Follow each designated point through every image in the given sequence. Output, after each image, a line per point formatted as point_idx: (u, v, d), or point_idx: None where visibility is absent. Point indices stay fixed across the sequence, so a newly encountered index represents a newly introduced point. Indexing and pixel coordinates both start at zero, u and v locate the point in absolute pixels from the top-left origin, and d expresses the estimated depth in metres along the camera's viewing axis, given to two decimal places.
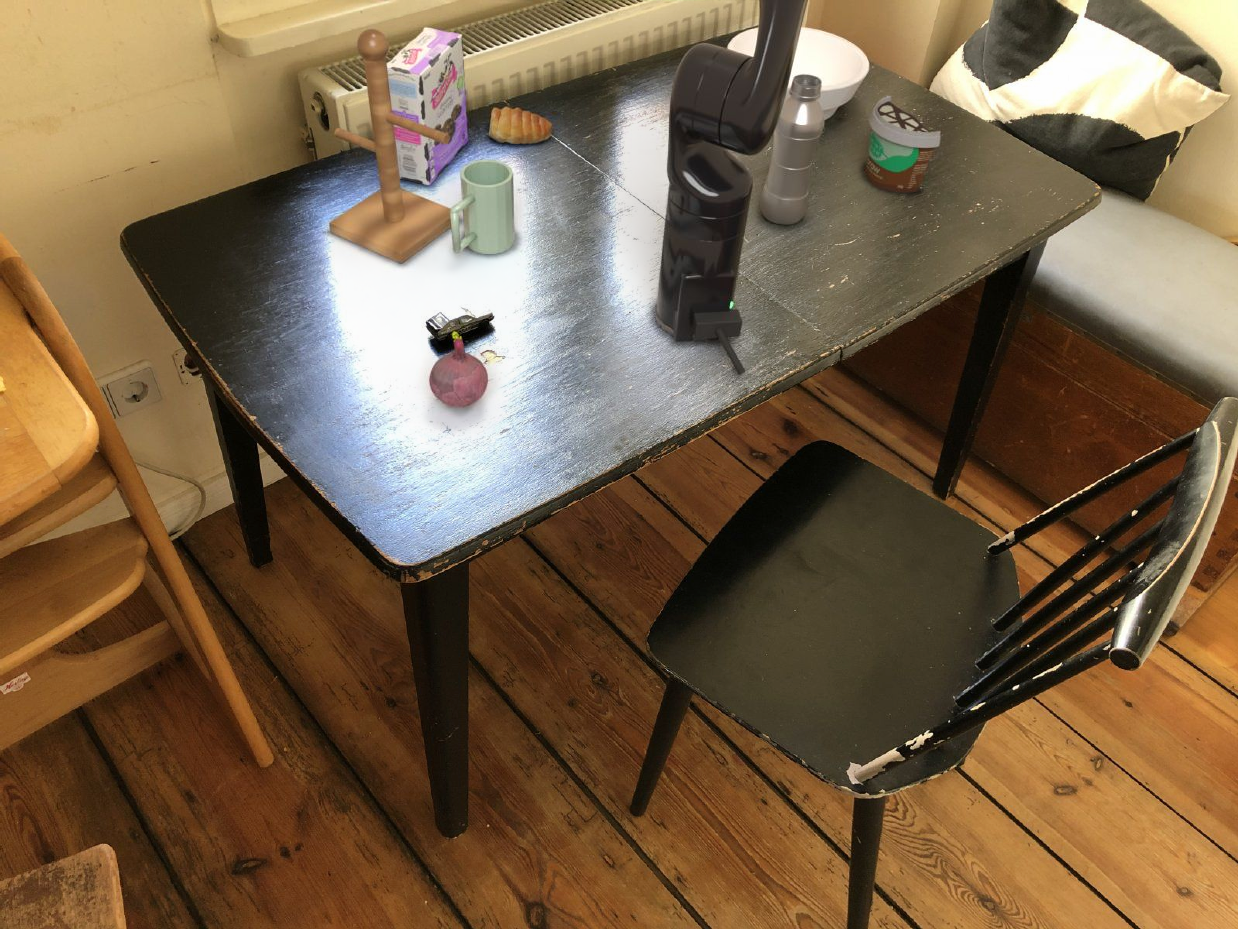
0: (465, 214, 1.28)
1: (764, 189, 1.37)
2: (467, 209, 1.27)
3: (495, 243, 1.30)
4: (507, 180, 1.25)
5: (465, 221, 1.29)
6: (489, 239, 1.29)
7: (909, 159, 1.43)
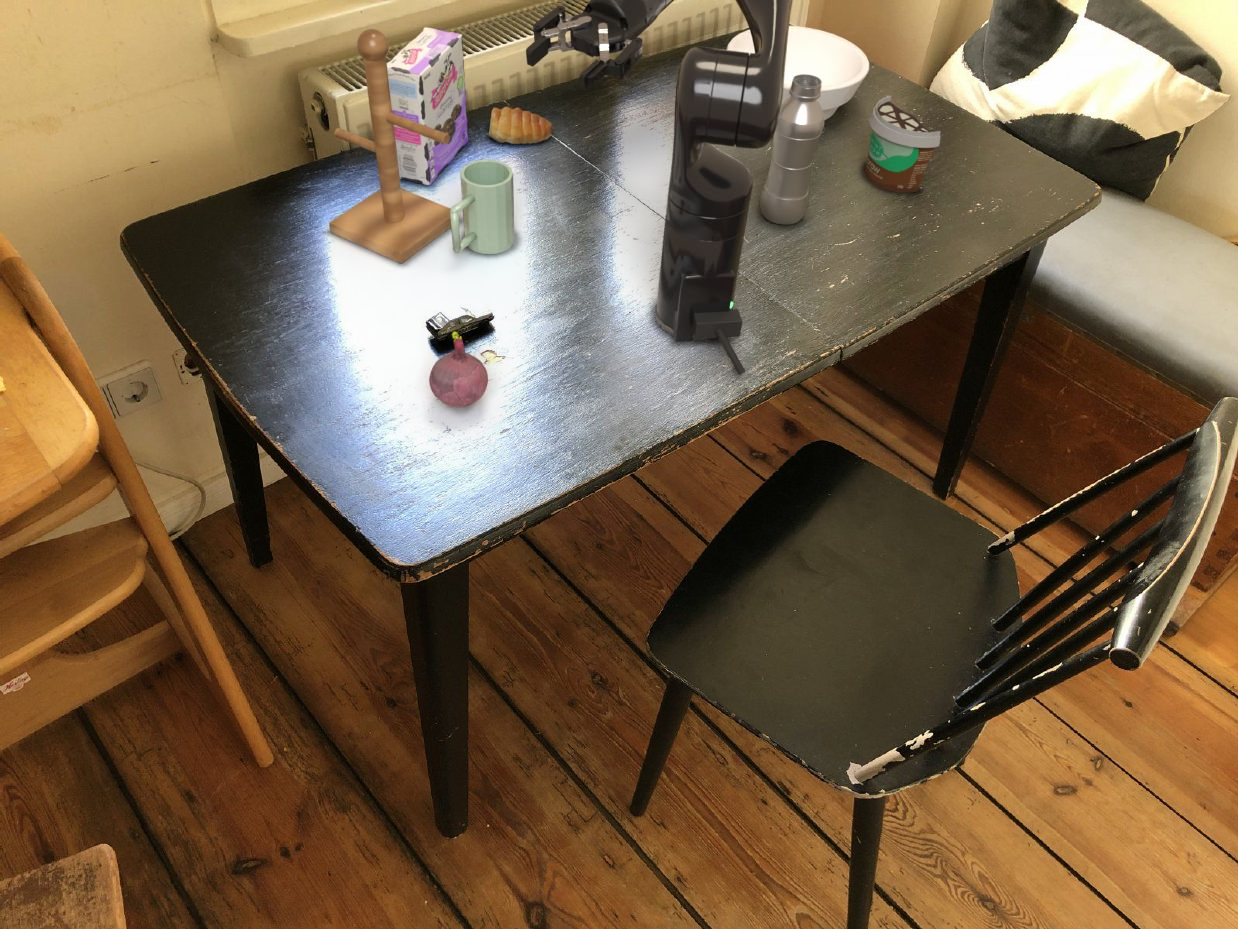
0: (465, 214, 1.28)
1: (764, 189, 1.37)
2: (467, 209, 1.27)
3: (495, 243, 1.30)
4: (507, 180, 1.25)
5: (465, 221, 1.29)
6: (489, 239, 1.29)
7: (909, 159, 1.43)
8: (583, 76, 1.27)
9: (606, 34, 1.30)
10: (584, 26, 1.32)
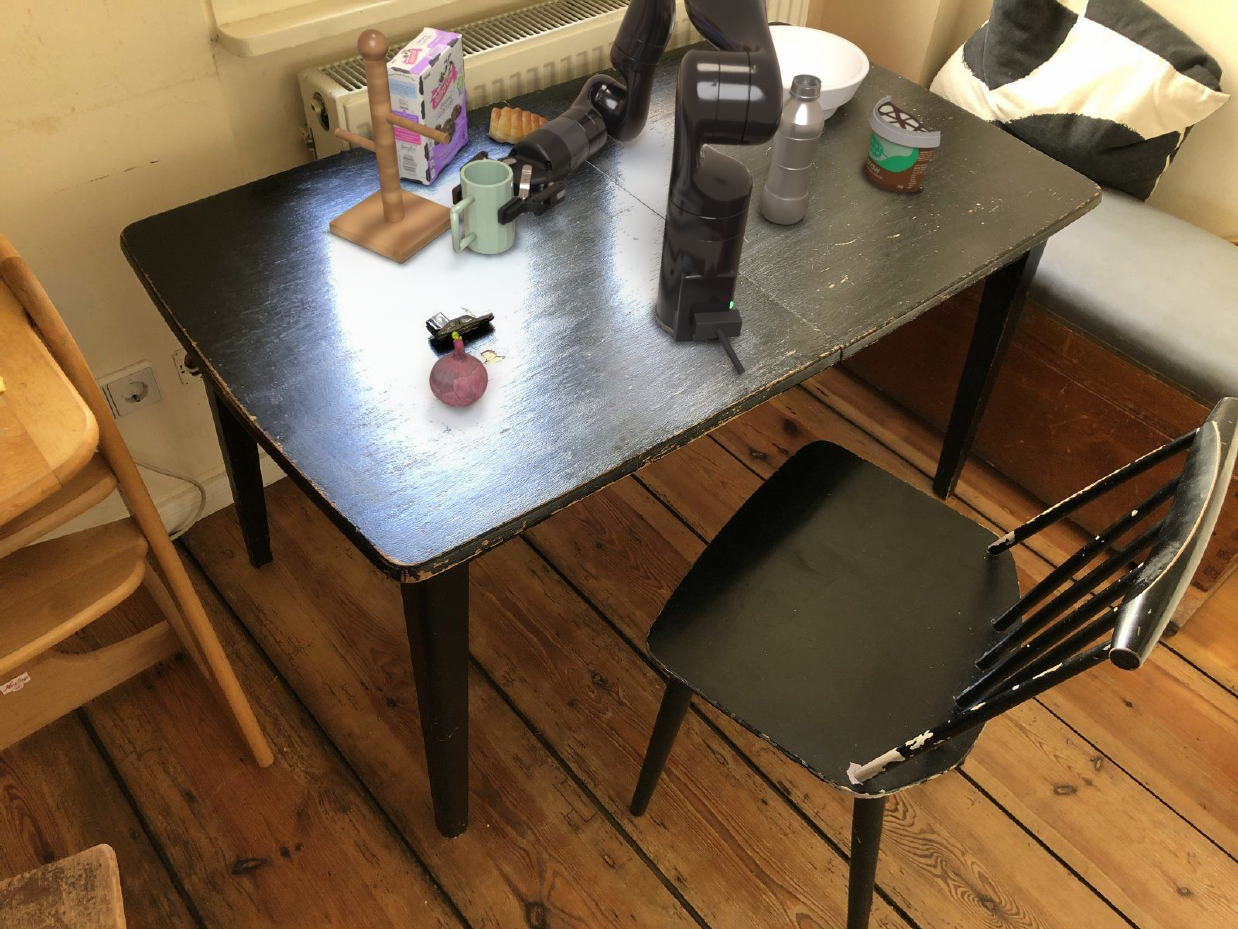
0: (465, 214, 1.28)
1: (764, 189, 1.37)
2: (467, 209, 1.27)
3: (495, 243, 1.30)
4: (507, 180, 1.25)
5: (465, 221, 1.29)
6: (489, 239, 1.29)
7: (909, 159, 1.43)
8: (501, 211, 1.26)
9: (531, 175, 1.31)
10: None
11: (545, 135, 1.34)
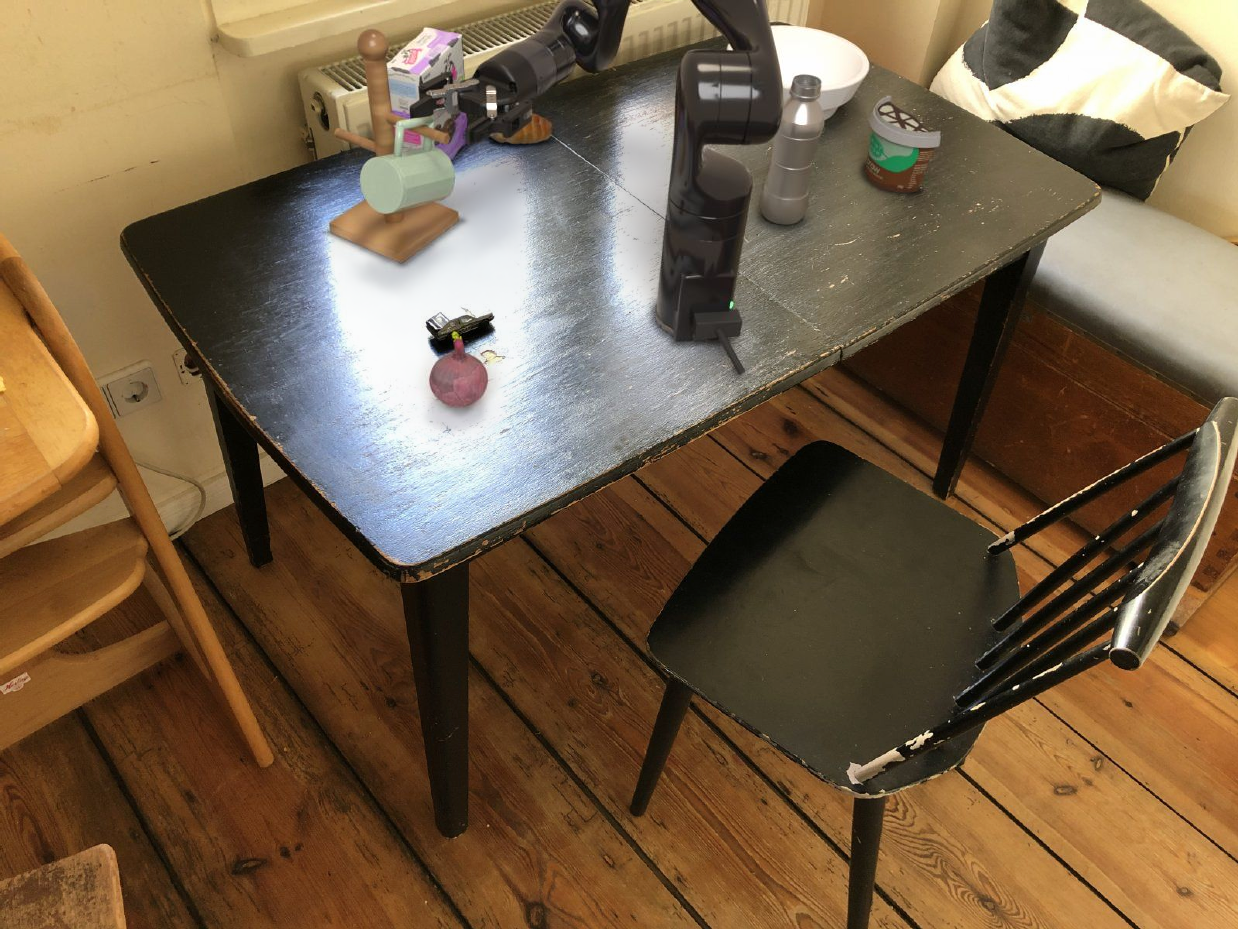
0: None
1: (764, 189, 1.37)
2: (410, 150, 1.22)
3: (408, 172, 1.18)
4: (454, 182, 1.25)
5: None
6: (409, 166, 1.18)
7: (909, 159, 1.43)
8: (468, 130, 1.21)
9: (494, 95, 1.26)
10: (472, 88, 1.27)
11: (510, 56, 1.29)
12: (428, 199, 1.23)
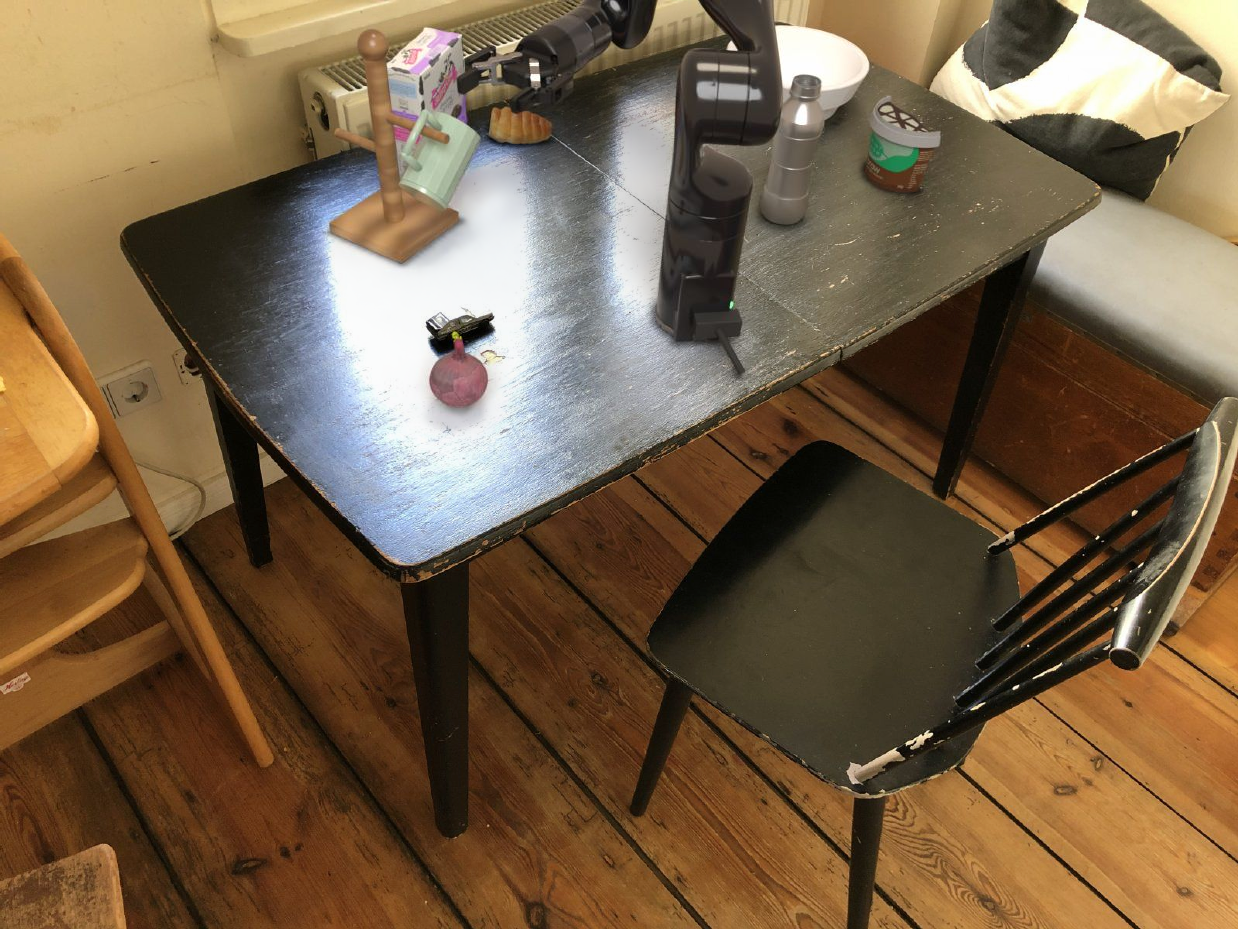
0: (419, 148, 1.24)
1: (764, 189, 1.37)
2: (425, 141, 1.23)
3: (435, 184, 1.23)
4: (477, 134, 1.25)
5: (414, 156, 1.24)
6: (433, 176, 1.23)
7: (909, 159, 1.43)
8: (514, 99, 1.27)
9: (537, 67, 1.32)
10: (515, 61, 1.33)
11: (551, 30, 1.35)
12: (465, 170, 1.27)
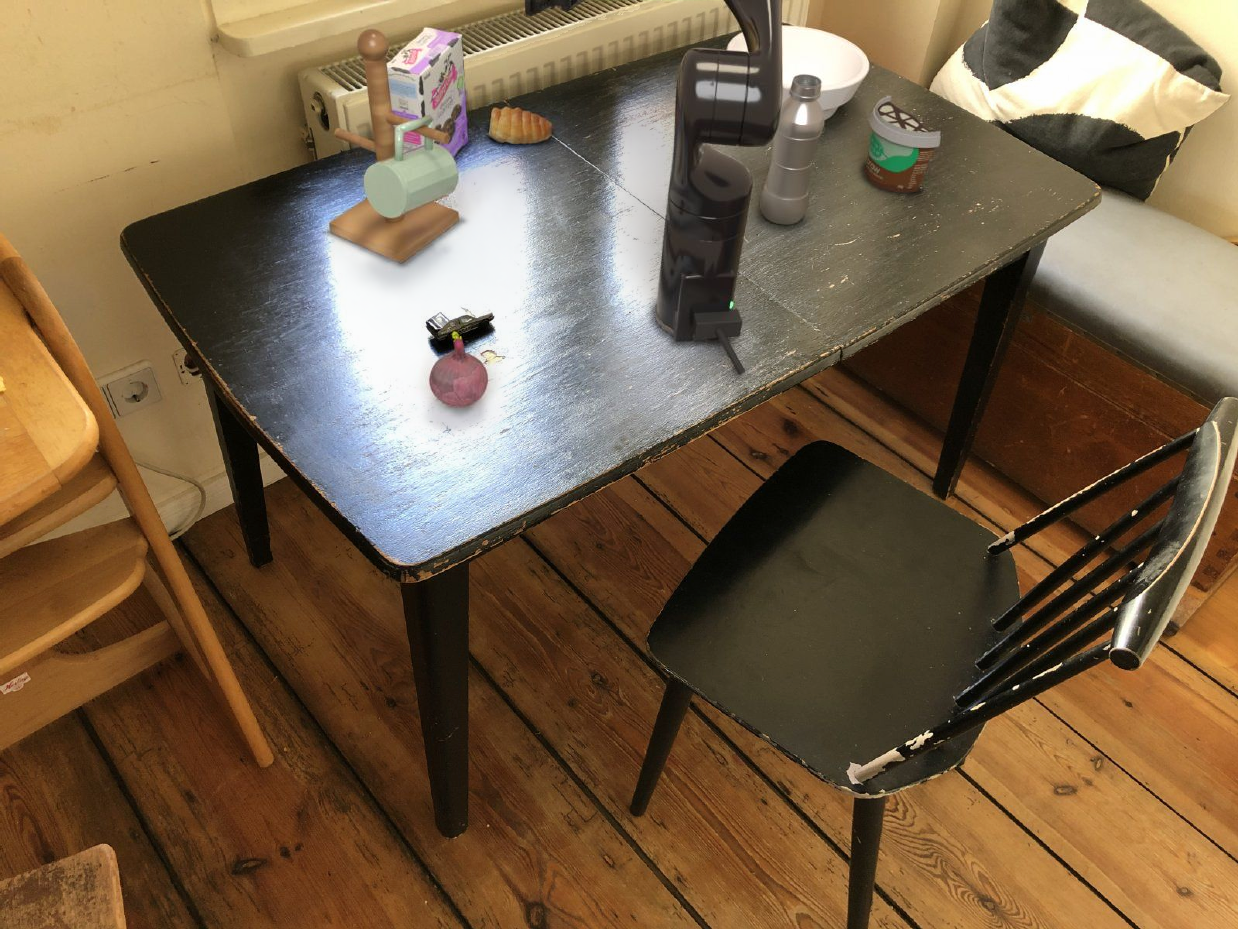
0: None
1: (764, 189, 1.37)
2: (411, 150, 1.22)
3: (410, 177, 1.18)
4: (457, 178, 1.25)
5: None
6: (410, 170, 1.19)
7: (909, 159, 1.43)
8: None
9: None
10: None
11: None
12: (432, 199, 1.23)
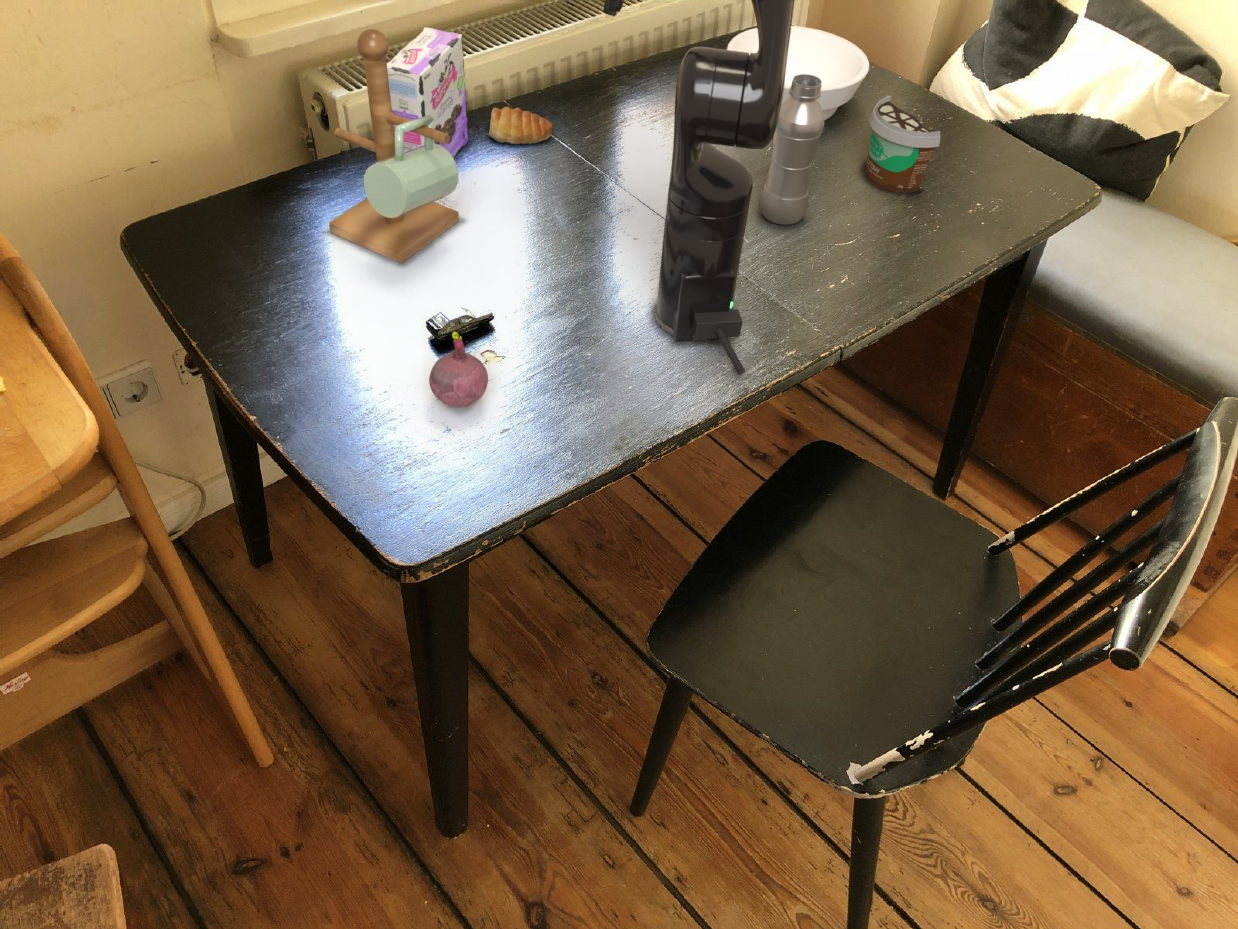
0: None
1: (764, 189, 1.37)
2: (411, 150, 1.22)
3: (410, 177, 1.18)
4: (457, 178, 1.25)
5: None
6: (410, 170, 1.19)
7: (909, 159, 1.43)
8: (607, 12, 1.17)
9: None
10: None
11: None
12: (432, 199, 1.23)
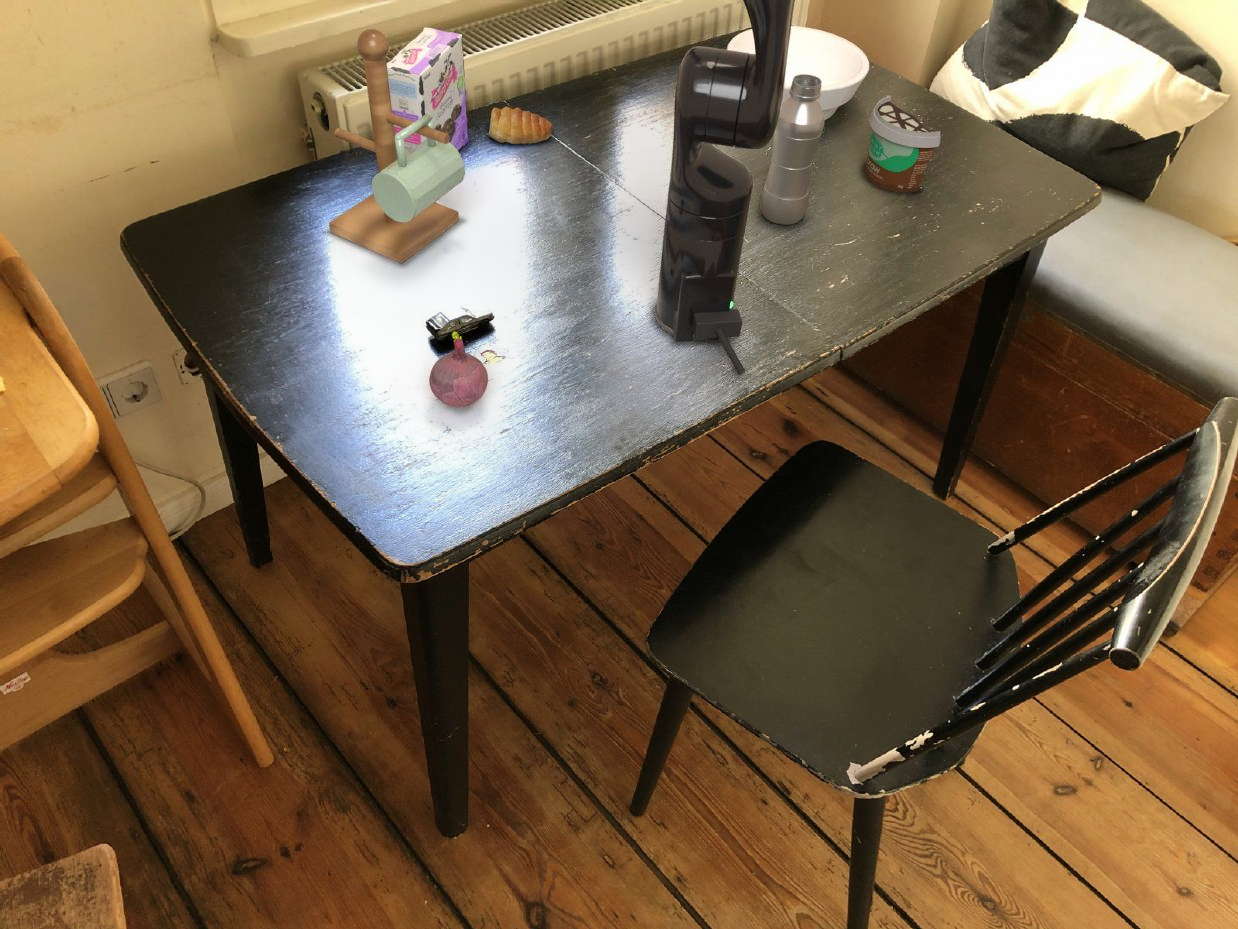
0: (406, 154, 1.22)
1: (764, 189, 1.37)
2: (415, 150, 1.22)
3: (415, 183, 1.20)
4: None
5: None
6: (415, 175, 1.20)
7: (909, 159, 1.43)
8: None
9: None
10: None
11: None
12: (441, 196, 1.25)
